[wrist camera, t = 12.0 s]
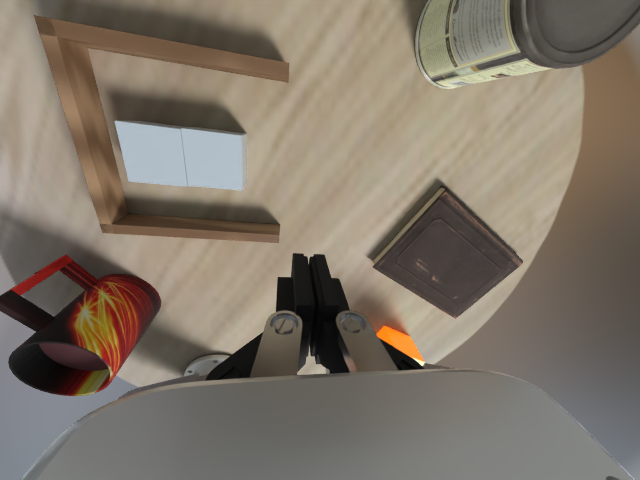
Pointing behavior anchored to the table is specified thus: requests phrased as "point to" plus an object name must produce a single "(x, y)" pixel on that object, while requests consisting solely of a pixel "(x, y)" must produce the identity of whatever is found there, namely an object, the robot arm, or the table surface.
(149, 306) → the mug
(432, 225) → the hardcover book
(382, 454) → the robot arm
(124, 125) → the tile
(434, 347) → the table surface
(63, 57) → the frame
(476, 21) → the coffee can
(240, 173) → the tile
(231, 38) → the table surface
